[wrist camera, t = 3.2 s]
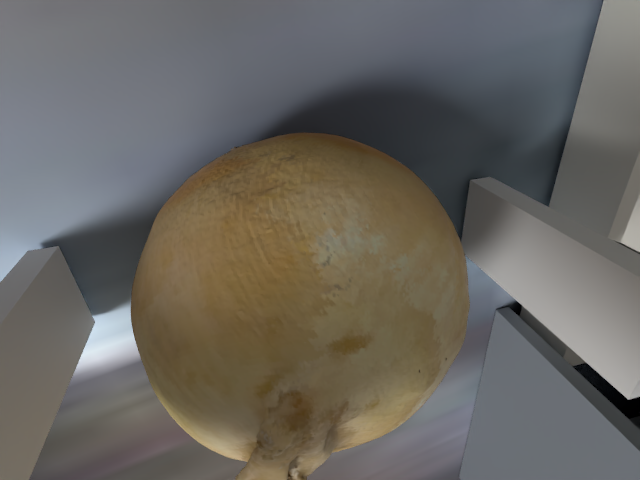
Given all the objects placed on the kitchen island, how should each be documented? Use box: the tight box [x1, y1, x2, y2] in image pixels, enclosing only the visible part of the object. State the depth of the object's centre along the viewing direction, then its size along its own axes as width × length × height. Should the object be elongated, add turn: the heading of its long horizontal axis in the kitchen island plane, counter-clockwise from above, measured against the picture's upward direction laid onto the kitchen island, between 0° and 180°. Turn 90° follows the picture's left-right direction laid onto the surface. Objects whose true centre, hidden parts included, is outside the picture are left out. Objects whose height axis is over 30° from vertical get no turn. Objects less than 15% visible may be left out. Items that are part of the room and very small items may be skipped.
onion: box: [131, 132, 470, 480], centre depth 9 cm, size 8×8×7 cm
